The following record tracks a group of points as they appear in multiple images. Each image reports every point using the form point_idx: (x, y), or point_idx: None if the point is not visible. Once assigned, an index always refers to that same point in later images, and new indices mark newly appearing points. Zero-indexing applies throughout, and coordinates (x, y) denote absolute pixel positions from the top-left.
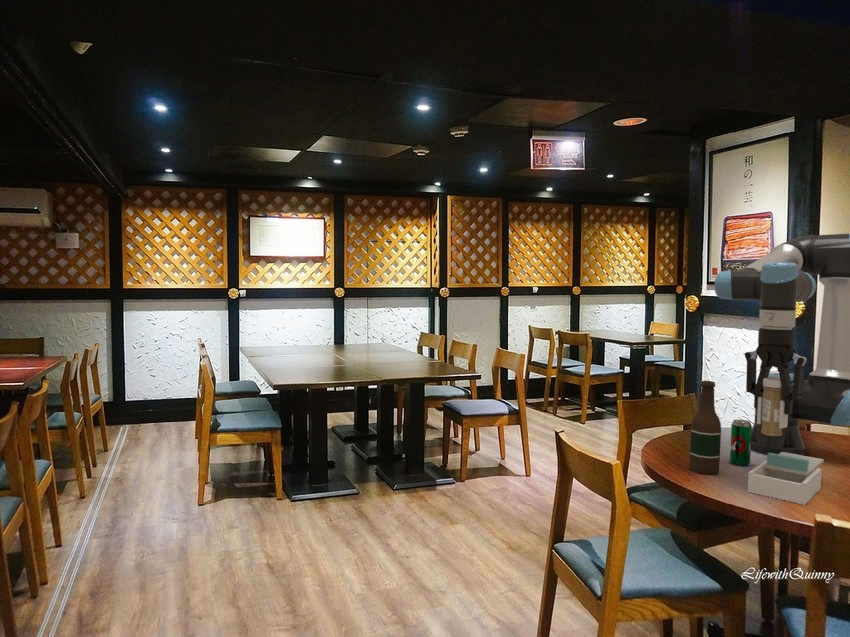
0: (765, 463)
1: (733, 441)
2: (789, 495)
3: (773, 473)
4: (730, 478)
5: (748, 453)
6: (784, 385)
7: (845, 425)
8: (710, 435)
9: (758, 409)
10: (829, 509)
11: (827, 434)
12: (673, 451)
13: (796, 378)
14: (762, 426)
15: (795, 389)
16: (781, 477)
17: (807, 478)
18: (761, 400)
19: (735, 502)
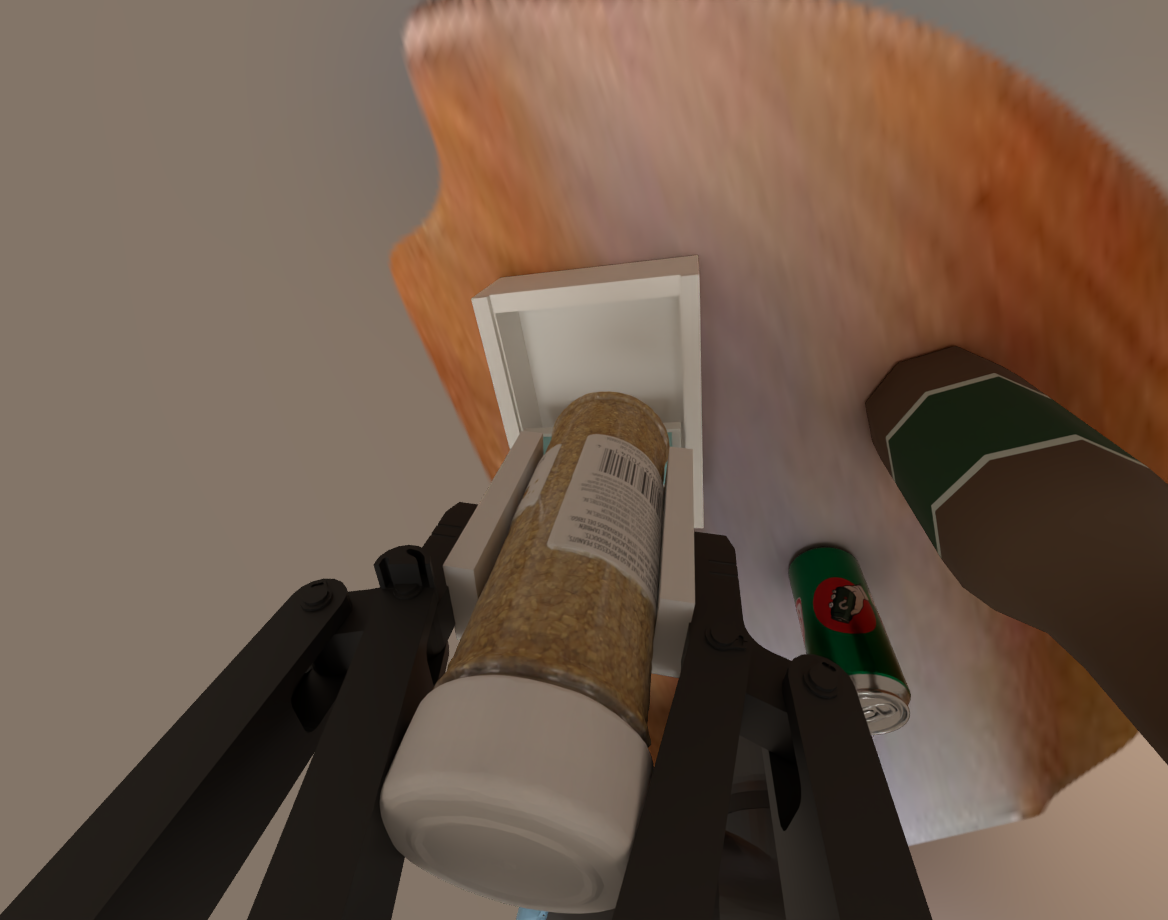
0: (680, 441)
1: (868, 614)
2: (542, 277)
3: None
4: (807, 384)
5: (798, 592)
6: (358, 724)
7: None
8: (990, 451)
9: (685, 515)
10: (437, 301)
11: None
12: None
13: (124, 827)
14: (651, 435)
15: (255, 669)
16: None
17: (503, 381)
18: (660, 578)
19: (690, 39)
